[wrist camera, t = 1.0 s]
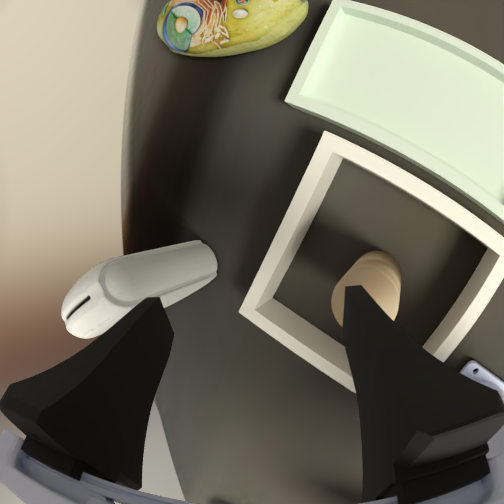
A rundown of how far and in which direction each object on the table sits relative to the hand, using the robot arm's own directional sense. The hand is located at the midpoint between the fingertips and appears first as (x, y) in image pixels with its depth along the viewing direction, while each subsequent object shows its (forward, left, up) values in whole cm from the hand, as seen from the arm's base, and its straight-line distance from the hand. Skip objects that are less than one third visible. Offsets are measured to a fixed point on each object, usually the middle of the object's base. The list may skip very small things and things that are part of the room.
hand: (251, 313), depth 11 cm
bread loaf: (-4, -1, -11) cm, 12 cm away
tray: (-2, -14, -11) cm, 18 cm away
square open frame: (-4, -1, -11) cm, 12 cm away
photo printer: (+11, +9, -12) cm, 19 cm away
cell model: (+16, -16, -12) cm, 26 cm away
